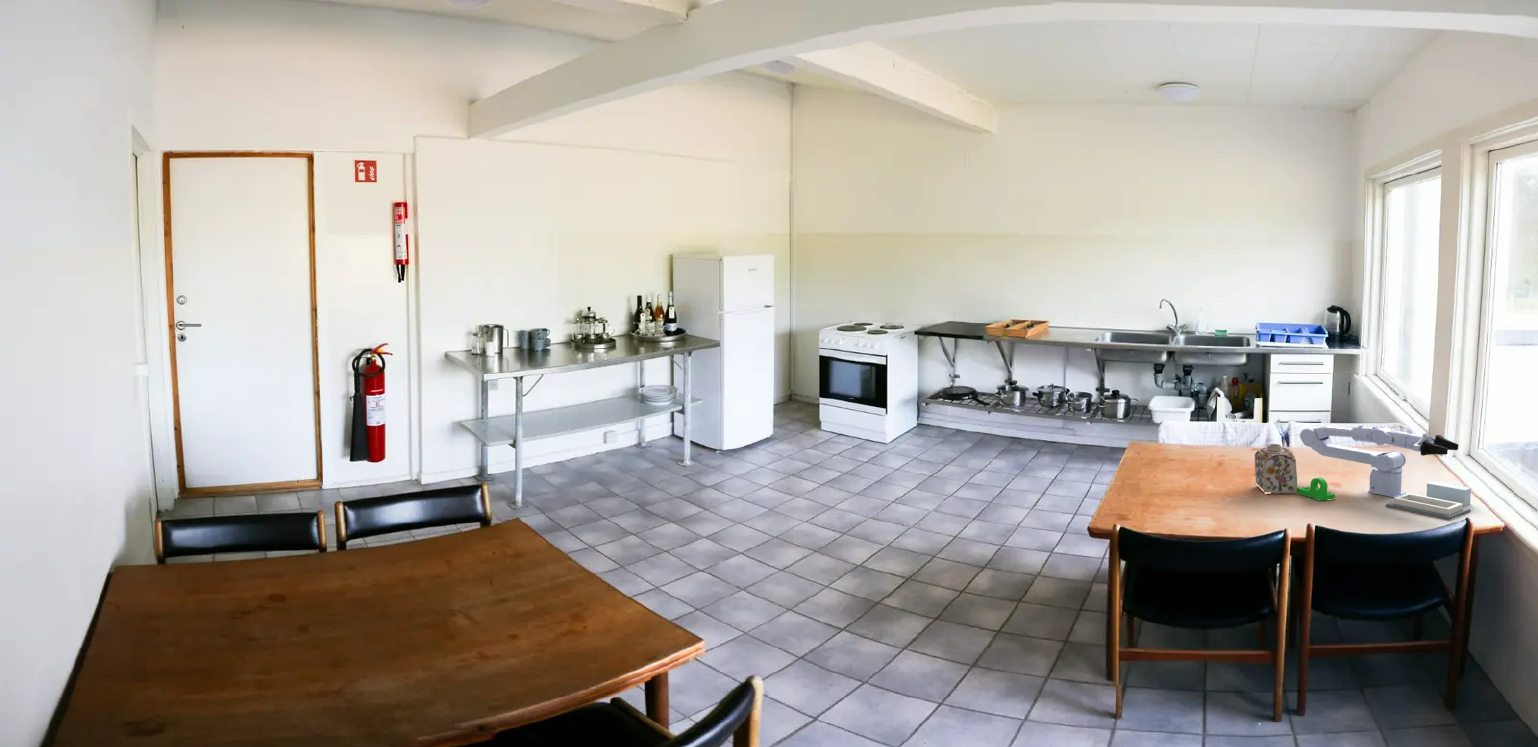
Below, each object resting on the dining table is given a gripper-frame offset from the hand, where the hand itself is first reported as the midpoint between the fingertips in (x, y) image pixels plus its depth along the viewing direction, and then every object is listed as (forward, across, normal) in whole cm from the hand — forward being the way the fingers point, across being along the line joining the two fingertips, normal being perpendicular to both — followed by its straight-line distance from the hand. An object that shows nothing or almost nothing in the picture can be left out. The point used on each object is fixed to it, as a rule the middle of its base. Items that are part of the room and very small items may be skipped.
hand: (1452, 449), depth 313 cm
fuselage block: (-1, +4, +21) cm, 21 cm away
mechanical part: (-34, -22, +22) cm, 46 cm away
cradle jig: (-2, -10, +20) cm, 23 cm away
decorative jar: (-47, -25, +22) cm, 58 cm away
